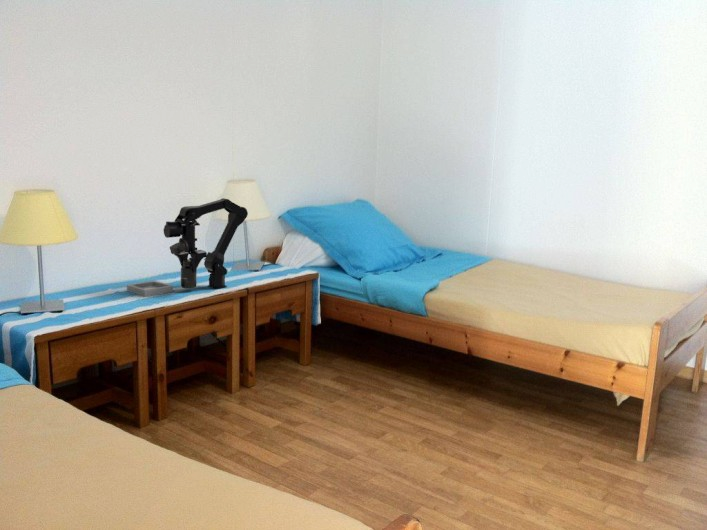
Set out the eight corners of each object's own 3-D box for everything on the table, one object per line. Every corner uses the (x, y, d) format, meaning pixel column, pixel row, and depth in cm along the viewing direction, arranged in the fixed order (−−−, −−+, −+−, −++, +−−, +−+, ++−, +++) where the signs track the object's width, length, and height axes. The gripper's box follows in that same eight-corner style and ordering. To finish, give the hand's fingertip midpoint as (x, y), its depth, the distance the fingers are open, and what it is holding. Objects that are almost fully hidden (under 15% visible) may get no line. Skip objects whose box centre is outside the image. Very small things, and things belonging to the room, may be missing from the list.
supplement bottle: (180, 288, 298) (180, 261, 296) (181, 285, 304) (180, 258, 302) (196, 288, 299) (196, 261, 297) (196, 285, 306) (196, 258, 304)
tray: (155, 286, 309) (154, 280, 308) (173, 291, 300) (173, 285, 299) (127, 290, 298) (126, 284, 298) (145, 296, 289) (145, 290, 289)
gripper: (160, 234, 297) (160, 270, 300) (185, 240, 286) (186, 277, 288) (181, 232, 306) (181, 267, 309) (207, 238, 294) (207, 273, 297)
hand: (188, 271), depth 300 cm, fingers closed on supplement bottle, 7 cm apart
